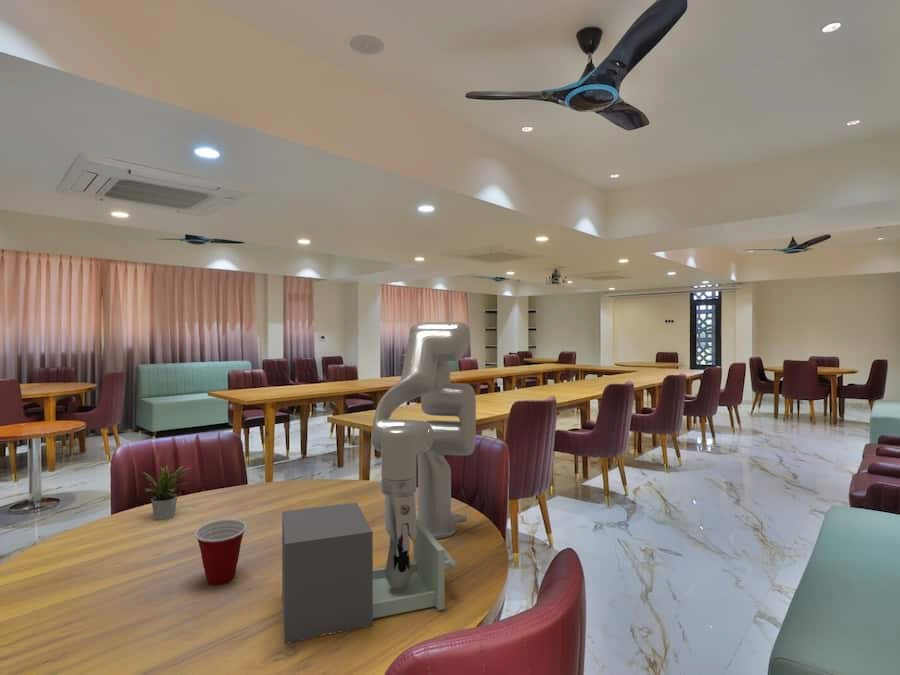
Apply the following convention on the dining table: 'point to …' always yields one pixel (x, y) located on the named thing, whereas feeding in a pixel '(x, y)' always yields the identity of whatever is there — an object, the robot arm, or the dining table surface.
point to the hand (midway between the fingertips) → (399, 569)
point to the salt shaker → (396, 570)
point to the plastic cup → (220, 549)
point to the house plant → (164, 494)
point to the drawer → (415, 579)
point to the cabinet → (326, 571)
